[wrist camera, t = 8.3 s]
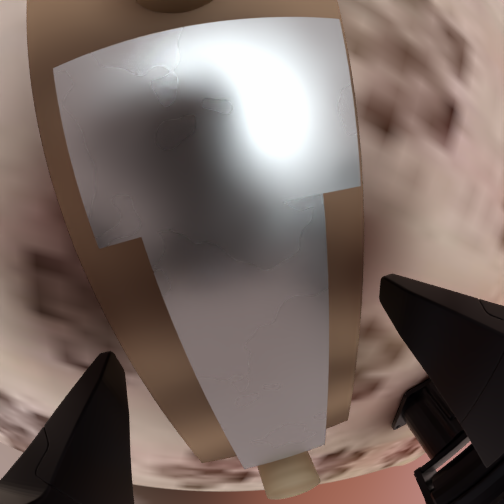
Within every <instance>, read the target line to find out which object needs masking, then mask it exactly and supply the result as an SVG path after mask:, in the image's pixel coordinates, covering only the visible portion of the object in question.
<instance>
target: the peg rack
mask: <svg viewBox="0 0 504 504" xmlns="http://www.w3.org/2000/svg"><path fill="white" fill-rule="evenodd" d="M266 17H316V18H333V19H339V20H340V24H341V29H342V34H343V39H344V44H345V50H346V55H347V61H348V67H349V73H350V80H351V87H352V94H353V102H354V110H355V119H356V128H357V139H358V151H359V165H360V183H361V186H359V187H353V188H348V189H343V190H338V191H333V192H328V193H323V197H324V210H325V224H326V241H327V261H328V290H329V373H328V400H327V419H326V429H327V428H329V427H332V426H334V425H337V424H339V423H342V422H344V421H347V420H348V416H349V410H350V404H351V398H352V391H353V384H354V377H355V369H356V360H357V352H358V342H359V331H360V319H361V304H362V286H363V257H364V211H363V181H362V163H361V149H360V137H359V127H358V117H357V108H356V100H355V92H354V85H353V78H352V72H351V66H350V60H349V54H348V48H347V43H346V38H345V33H344V28H343V23H342V19H341V14H340V10H339V6H338V2H337V0H27V44H28V58H29V69H30V78H31V86H32V93H33V100H34V106H35V112H36V117H37V122H38V127H39V132H40V137H41V141H42V146H43V150H44V154H45V158H46V162H47V166H48V169H49V173H50V177H51V180H52V183H53V187H54V190H55V193H56V197H57V200H58V203H59V206H60V209H61V212H62V215H63V218H64V221H65V223H66V226H67V229H68V232H69V234H70V237H71V240H72V242H73V245H74V247H75V250H76V252H77V255H78V257H79V260H80V262H81V265H82V267H83V269H84V272H85V274H86V276H87V278H88V281H89V283H90V285H91V287H92V289H93V291H94V294H95V296H96V298H97V300H98V302H99V304H100V306H101V308H102V310H103V312H104V314H105V316H106V318H107V320H108V322H109V324H110V326H111V328H112V330H113V331H114V333H115V335H116V337H117V339H118V341H119V342H120V344H121V346H122V348H123V349H124V351H125V353H126V355H127V356H128V358H129V360H130V361H131V363H132V365H133V367H134V368H135V370H136V371H137V373H138V375H139V376H140V378H141V379H142V381H143V383H144V384H145V386H146V387H147V389H148V390H149V392H150V393H151V395H152V396H153V398H154V399H155V401H156V402H157V404H158V405H159V407H160V408H161V410H162V411H163V413H164V414H165V415H166V417H167V418H168V420H169V421H170V422H171V424H172V425H173V426H174V428H175V429H176V430H177V432H178V433H179V434H180V436H181V437H182V438H183V440H184V441H185V442H186V444H187V445H188V446H189V447H190V449H191V450H192V451H193V452H194V454H195V455H196V456H197V457H198V458H199V460H200V461H201V462H202V463H205V462H210V461H215V460H220V459H225V458H230V457H234V456H237V455H236V453H235V452H234V450H233V448H232V446H231V444H230V443H229V441H228V439H227V437H226V435H225V433H224V431H223V430H222V428H221V426H220V424H219V422H218V420H217V418H216V416H215V414H214V412H213V410H212V408H211V406H210V404H209V402H208V400H207V398H206V396H205V394H204V392H203V390H202V388H201V386H200V384H199V381H198V379H197V377H196V375H195V373H194V371H193V368H192V366H191V364H190V362H189V360H188V357H187V355H186V353H185V350H184V348H183V346H182V344H181V341H180V339H179V336H178V334H177V332H176V329H175V327H174V324H173V322H172V320H171V317H170V315H169V312H168V309H167V307H166V304H165V302H164V299H163V297H162V294H161V291H160V289H159V286H158V283H157V281H156V278H155V275H154V272H153V269H152V267H151V264H150V261H149V258H148V255H147V252H146V249H145V246H144V243H143V240H142V237H139V238H136V239H132V240H129V241H125V242H121V243H118V244H114V245H111V246H107V247H104V248H101V249H99V248H98V245H97V242H96V239H95V237H94V234H93V231H92V228H91V226H90V223H89V220H88V217H87V214H86V211H85V208H84V205H83V201H82V198H81V195H80V192H79V188H78V185H77V182H76V178H75V175H74V171H73V167H72V163H71V160H70V156H69V152H68V148H67V143H66V139H65V135H64V130H63V125H62V121H61V116H60V110H59V105H58V99H57V93H56V87H55V80H54V73H53V68H55V67H57V66H59V65H62V64H64V63H66V62H69V61H71V60H73V59H76V58H78V57H81V56H83V55H86V54H89V53H91V52H94V51H97V50H100V49H103V48H105V47H108V46H111V45H115V44H118V43H121V42H124V41H128V40H131V39H134V38H138V37H142V36H146V35H150V34H154V33H158V32H162V31H166V30H171V29H176V28H181V27H186V26H192V25H198V24H204V23H211V22H219V21H227V20H237V19H249V18H266ZM258 470H259V473H260V476H261V479H262V483H263V486H264V489H265V492H266V495H267V498H269V499H284V498H288V497H293V496H296V495H299V494H302V493H304V492H307V491H309V490H310V489H312V488H314V487H315V486H317V485H318V484H319V483H320V478H319V476H318V474H317V472H316V469H315V467H314V465H313V462H312V460H311V458H310V456H309V453H308V451H305V452H302V453H299V454H296V455H293V456H290V457H287V458H284V459H280V460H277V461H273V462H270V463H266V464H263V465H259V466H258Z"/></svg>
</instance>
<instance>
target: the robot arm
mask: <svg viewBox="0 0 504 504" xmlns="http://www.w3.org/2000/svg"><path fill="white" fill-rule="evenodd" d="M379 299H380V302H381V304H382V306H383V308H384V309H385V311H386V313H387V314H388V316H389V318H390V319H391V321H392V323H393V325H394V326H395V328H396V330H397V331H398V333H399V335H400V336H401V338H402V339H403V341H404V342H405V343H406V345H407V346H408V348H409V349H410V350H411V352H412V353H413V354H414V356H415V357H416V359H417V360H418V362H419V363H420V364H421V366H422V367H423V369H424V370H425V372H426V373H427V374H428V376H429V377H430V379H429V380H427V381H425V382H424V383H422V384H420V385H418V386H417V387H415V388H413V389H411V390H409V391H408V392H407V393H406V394H405V395H404V397H403V400H402V402H401V405H400V407H399V410H398V412H397V415H396V417H395V420H394V422H393V424H392V428H393V429H394V430H396V429H398V428H399V427H401V426H403V425H405V424H407V425H408V427H409V428H410V430H411V431H412V433H413V434H414V436H415V437H416V439H417V440H418V441H419V443H420V444H421V446H422V447H423V449H424V450H425V452H426V453H427V455H428V456H429V458H430V459H431V460H430V461H429V462H427V463H426V464H425V465H423V466H422V467H419V468H418V469H416V470H415V471H414V473H415V474H414V476H415V477H416V480H417V482H418V485H419V487H420V489H421V491H422V494H423V496H424V498H425V502H426V504H504V306H502V305H498V304H495V303H491V302H488V301H484V300H481V299H478V298H474V297H471V296H468V295H464V294H461V293H458V292H454V291H451V290H447V289H444V288H441V287H437V286H434V285H430V284H427V283H423V282H420V281H416V280H413V279H409V278H406V277H402V276H399V275H395V274H389V275H386V276H383V277H382V278H381V283H380V294H379ZM469 441H471V443H472V444H471V445H469V446H468V447H467V448H466V449H465V450H464V451H463V452H461V453H460V454H459V455H458V456H457V457H455V458H454V459H453V460H452V461H450V462H449V463H448V464H447V465H446V466H444V467H443V468H442V469H441V470H439V471H438V472H436V470H435V469H437V468H438V467H439V466H441V465H442V464H443V463H445V462H446V461H447V460H448V459H449V458H451V457H452V456H453V455H454V454H455V453H457V452H458V451H459V450H460V449H461V448H463V447H464V446H465V445H466V444H467V443H468V442H469ZM133 497H134V496H133V487H132V473H131V457H130V427H129V408H128V399H127V390H126V379H125V372H124V369H123V367H122V366H121V364H120V363H119V361H118V359H117V358H116V356H115V354H114V353H113V352H111V351H109V352H103V353H100V354H99V355H98V356H97V358H96V359H95V360H94V361H93V363H92V364H91V365H90V366H89V368H88V369H87V370H86V371H85V373H84V374H83V375H82V377H81V378H80V379H79V380H78V382H77V383H76V384H75V385H74V387H73V388H72V389H71V391H70V392H69V393H68V395H67V396H66V397H65V398H64V400H63V401H62V402H61V404H60V405H59V406H58V408H57V409H56V410H55V412H54V413H53V414H52V416H51V417H50V418H49V420H48V421H47V422H46V424H45V425H44V427H43V428H42V429H41V431H40V432H39V433H38V435H37V436H36V437H35V439H34V440H33V441H32V443H31V444H30V445H29V447H28V448H27V449H26V450H25V452H24V453H23V454H22V455H21V456H20V458H19V459H18V460H17V461H16V462H15V463H14V465H13V466H12V467H11V468H10V470H9V471H8V472H7V473H6V474H5V476H4V477H3V478H2V479H1V480H0V504H134V498H133Z"/></svg>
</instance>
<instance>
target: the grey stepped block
mask: <svg viewBox="0 0 504 504" xmlns="http://www.w3.org/2000/svg"><path fill="white" fill-rule="evenodd" d="M53 73H54V80H55V87H56V93H57V99H58V105H59V110H60V116H61V121H62V125H63V130H64V135H65V139H66V143H67V148H68V152H69V156H70V160H71V163H72V167H73V171H74V175H75V178H76V182H77V185H78V188H79V192H80V195H81V198H82V201H83V205H84V208H85V211H86V214H87V217H88V220H89V223H90V226H91V228H92V231H93V234H94V237H95V239H96V242H97V245H98V248H99V249H101V248H104V247H107V246H111V245H114V244H118V243H121V242H125V241H129V240H132V239H136V238H139V237H142V240H143V243H144V246H145V249H146V252H147V255H148V258H149V261H150V264H151V267H152V269H153V272H154V275H155V278H156V281H157V283H158V286H159V289H160V291H161V294H162V297H163V299H164V302H165V304H166V307H167V309H168V312H169V315H170V317H171V320H172V322H173V324H174V327H175V329H176V332H177V334H178V336H179V339H180V341H181V344H182V346H183V348H184V350H185V353H186V355H187V357H188V360H189V362H190V364H191V366H192V368H193V371H194V373H195V375H196V377H197V379H198V381H199V384H200V386H201V388H202V390H203V392H204V394H205V396H206V398H207V400H208V402H209V404H210V406H211V408H212V410H213V412H214V414H215V416H216V418H217V420H218V422H219V424H220V426H221V428H222V430H223V431H224V433H225V435H226V437H227V439H228V441H229V443H230V444H231V446H232V448H233V450H234V452H235V453H236V455H237V457H238V459H239V460H240V462H241V464H242V466H243V467H244V469H247V468H251V467H255V466H259V465H263V464H266V463H270V462H273V461H277V460H280V459H284V458H287V457H290V456H293V455H296V454H299V453H302V452H305V451H308V450H311V449H314V448H317V447H319V446H322V445H325V435H326V419H327V400H328V373H329V290H328V261H327V241H326V224H325V210H324V197H323V193H328V192H333V191H338V190H343V189H348V188H353V187H359V186H361V183H360V165H359V151H358V139H357V128H356V119H355V110H354V102H353V94H352V87H351V80H350V73H349V67H348V61H347V55H346V50H345V44H344V39H343V34H342V29H341V24H340V20H339V19H333V18H316V17H266V18H249V19H237V20H227V21H219V22H211V23H204V24H198V25H192V26H186V27H181V28H176V29H171V30H166V31H162V32H158V33H154V34H150V35H146V36H142V37H138V38H134V39H131V40H128V41H124V42H121V43H118V44H115V45H111V46H108V47H105V48H103V49H100V50H97V51H94V52H91V53H89V54H86V55H83V56H81V57H78V58H76V59H73V60H71V61H69V62H66V63H64V64H62V65H59V66H57V67H55V68H53Z"/></svg>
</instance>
